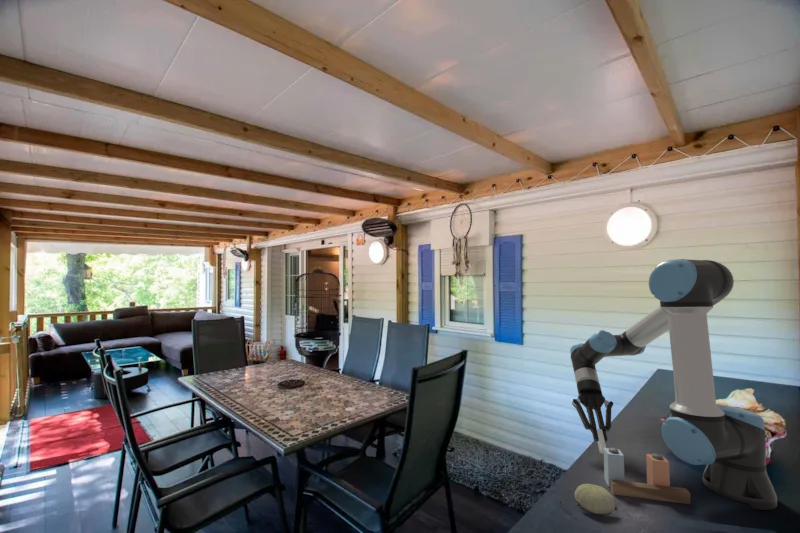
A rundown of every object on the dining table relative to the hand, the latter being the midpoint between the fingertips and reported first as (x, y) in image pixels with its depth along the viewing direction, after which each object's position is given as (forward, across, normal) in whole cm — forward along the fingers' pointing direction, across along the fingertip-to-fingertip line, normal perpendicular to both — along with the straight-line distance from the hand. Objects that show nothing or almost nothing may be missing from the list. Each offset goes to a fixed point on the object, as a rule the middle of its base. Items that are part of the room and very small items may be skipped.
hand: (603, 451), depth 115 cm
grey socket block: (+11, 0, +5) cm, 12 cm away
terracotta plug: (+12, -10, +6) cm, 17 cm away
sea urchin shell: (+19, +8, +11) cm, 24 cm away
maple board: (+10, -7, +2) cm, 12 cm away
